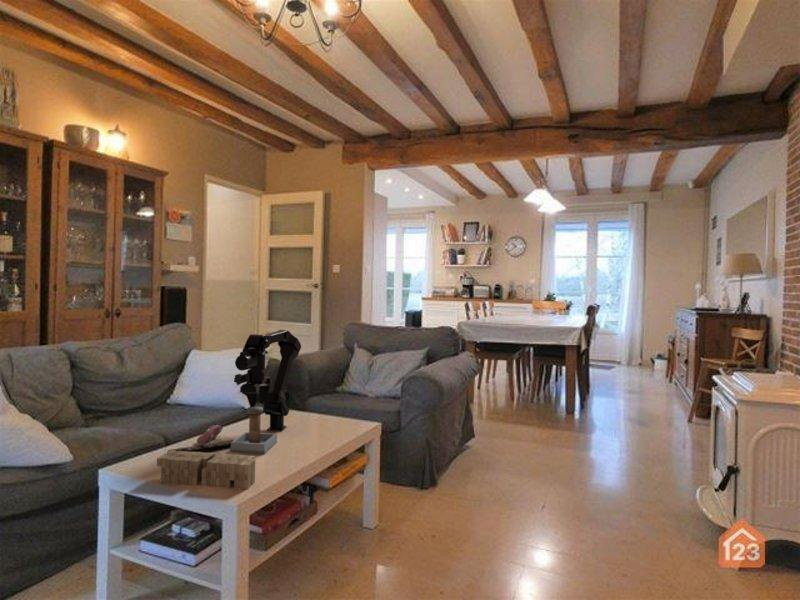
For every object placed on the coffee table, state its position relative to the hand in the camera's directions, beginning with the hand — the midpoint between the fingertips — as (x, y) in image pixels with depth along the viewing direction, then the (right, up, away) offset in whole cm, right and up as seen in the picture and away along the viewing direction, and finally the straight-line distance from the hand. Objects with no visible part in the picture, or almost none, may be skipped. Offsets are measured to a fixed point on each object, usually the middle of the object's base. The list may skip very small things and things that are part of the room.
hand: (257, 406), depth 189 cm
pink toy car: (-18, -13, -2) cm, 22 cm away
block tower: (-3, -15, -41) cm, 43 cm away
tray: (+2, -13, -9) cm, 16 cm away
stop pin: (+2, -12, -9) cm, 15 cm away
